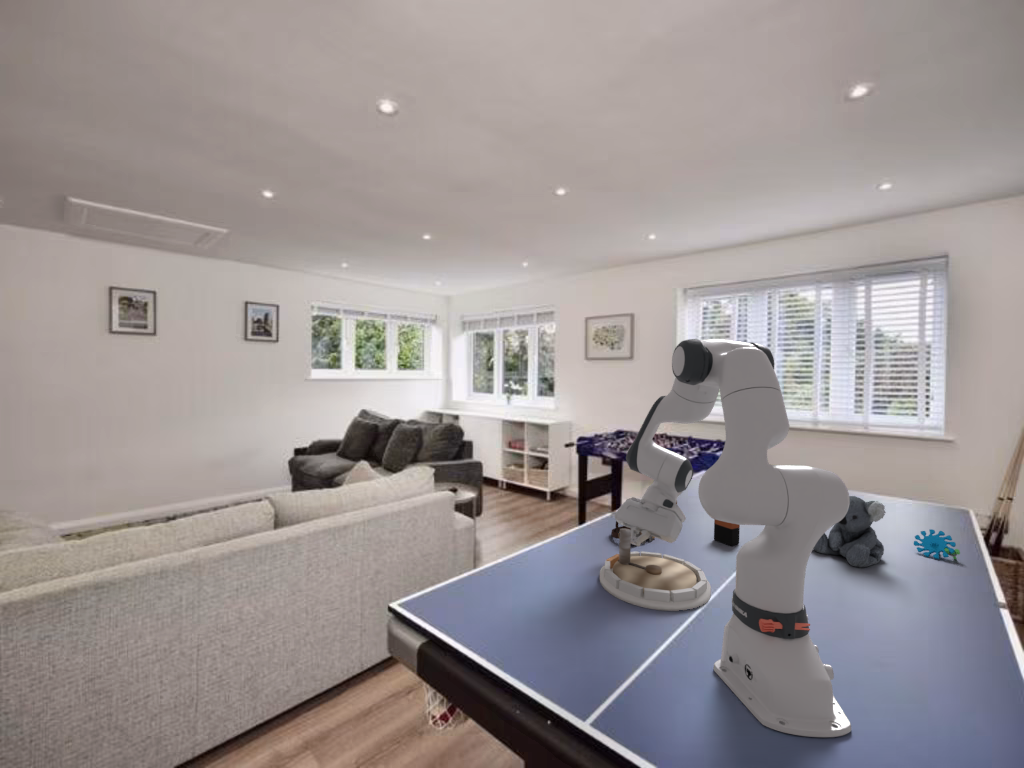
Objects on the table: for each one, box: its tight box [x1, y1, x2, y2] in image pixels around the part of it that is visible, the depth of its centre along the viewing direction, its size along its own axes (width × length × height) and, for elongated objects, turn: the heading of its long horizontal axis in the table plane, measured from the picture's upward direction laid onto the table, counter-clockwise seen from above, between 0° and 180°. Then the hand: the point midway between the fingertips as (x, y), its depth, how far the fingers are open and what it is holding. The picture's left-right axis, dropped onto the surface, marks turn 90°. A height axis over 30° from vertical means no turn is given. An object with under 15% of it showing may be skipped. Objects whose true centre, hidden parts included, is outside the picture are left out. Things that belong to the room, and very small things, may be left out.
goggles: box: [610, 520, 656, 545], centre depth 159 cm, size 15×13×10 cm
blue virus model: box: [913, 528, 961, 560], centre depth 147 cm, size 11×6×10 cm
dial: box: [613, 528, 696, 593], centre depth 124 cm, size 21×21×10 cm
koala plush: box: [813, 495, 887, 569], centre depth 146 cm, size 17×18×20 cm
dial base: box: [599, 550, 712, 612], centre depth 124 cm, size 28×28×4 cm
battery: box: [713, 519, 741, 547], centre depth 156 cm, size 4×7×10 cm, turn 29°
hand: (633, 543), depth 132 cm, fingers closed
